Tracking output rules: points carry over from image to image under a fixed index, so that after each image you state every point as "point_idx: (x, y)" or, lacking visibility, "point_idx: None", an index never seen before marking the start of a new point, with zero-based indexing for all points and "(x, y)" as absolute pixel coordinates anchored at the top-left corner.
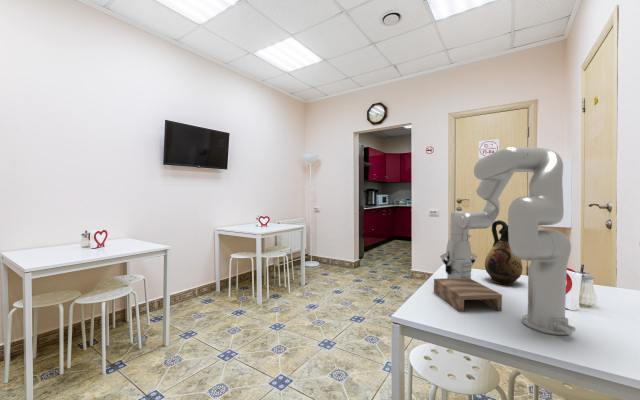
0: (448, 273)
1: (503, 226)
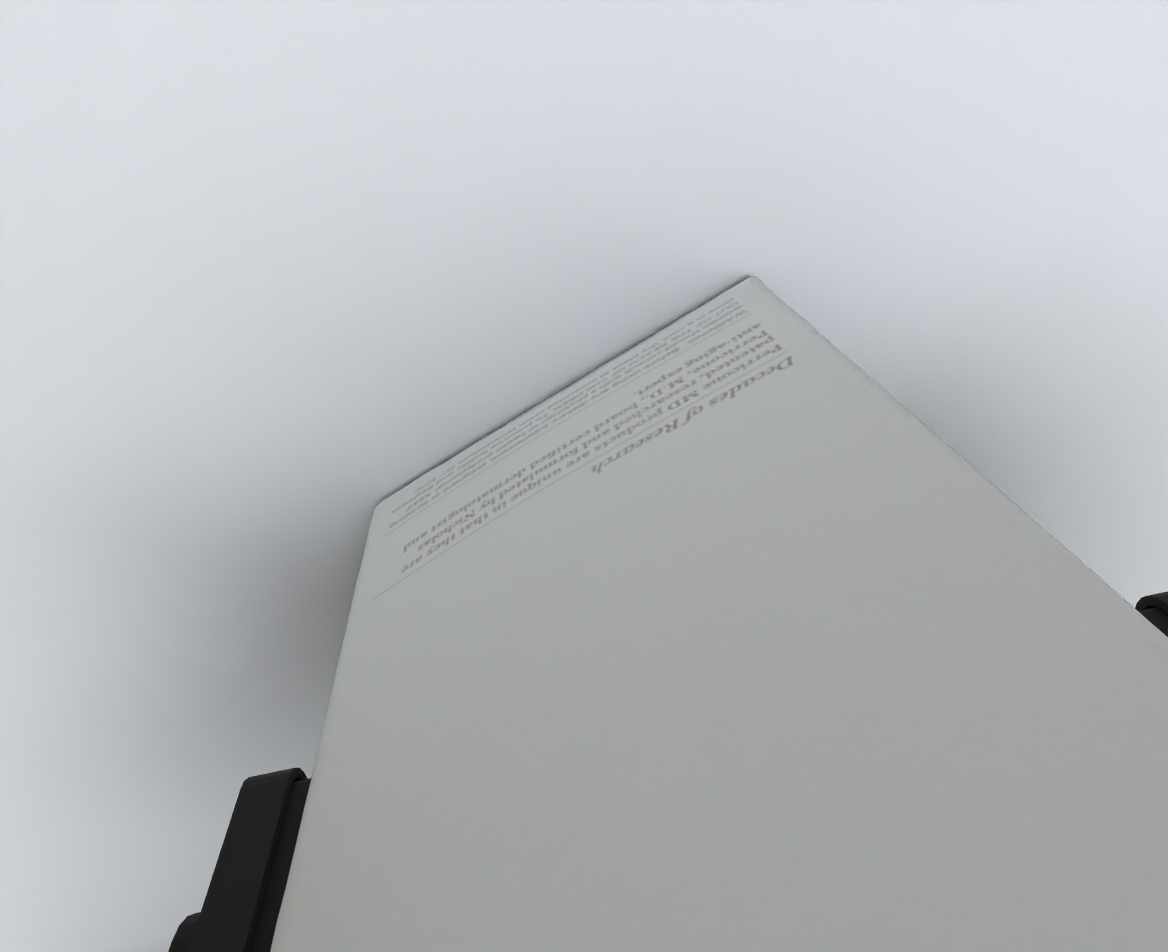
0: None
1: None
